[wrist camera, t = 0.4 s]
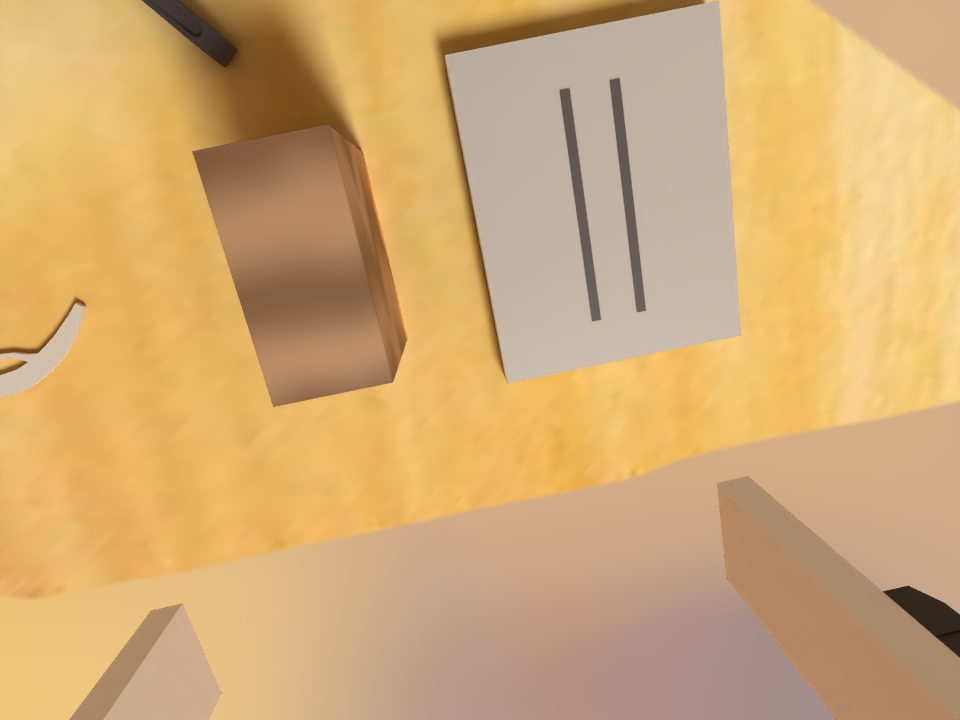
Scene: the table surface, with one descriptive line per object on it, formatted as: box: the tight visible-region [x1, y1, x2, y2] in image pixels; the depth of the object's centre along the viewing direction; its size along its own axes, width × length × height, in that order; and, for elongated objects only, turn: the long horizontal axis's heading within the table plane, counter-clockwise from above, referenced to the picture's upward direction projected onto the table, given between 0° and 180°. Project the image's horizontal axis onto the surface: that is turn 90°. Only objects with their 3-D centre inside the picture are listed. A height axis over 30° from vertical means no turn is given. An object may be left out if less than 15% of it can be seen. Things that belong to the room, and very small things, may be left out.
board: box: [445, 1, 741, 383], centre depth 33 cm, size 20×16×2 cm
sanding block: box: [192, 124, 407, 407], centre depth 29 cm, size 12×6×10 cm, turn 11°
